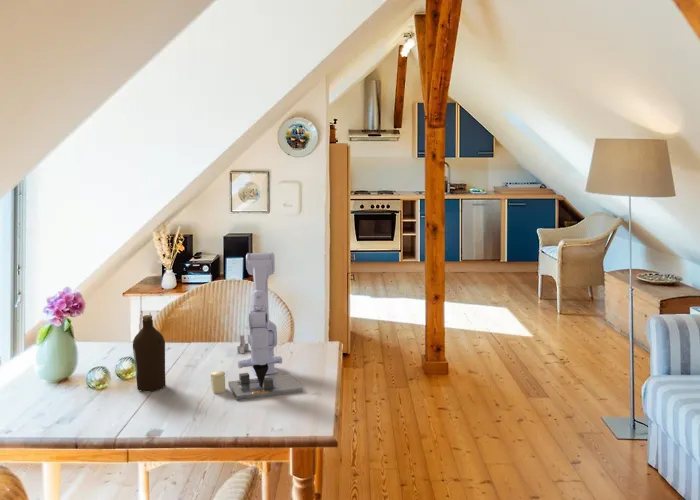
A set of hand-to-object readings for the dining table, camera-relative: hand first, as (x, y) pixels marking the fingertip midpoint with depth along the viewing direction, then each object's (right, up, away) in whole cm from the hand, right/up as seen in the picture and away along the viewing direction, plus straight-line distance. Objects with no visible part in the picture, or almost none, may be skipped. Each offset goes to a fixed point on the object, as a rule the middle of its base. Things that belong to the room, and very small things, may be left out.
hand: (261, 386), depth 250 cm
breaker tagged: (+2, -1, +1) cm, 2 cm away
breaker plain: (-6, 0, +6) cm, 9 cm away
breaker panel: (+1, -2, +4) cm, 5 cm away
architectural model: (-8, +4, +45) cm, 46 cm away
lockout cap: (-15, -2, +3) cm, 15 cm away
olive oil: (-38, -2, +8) cm, 39 cm away
